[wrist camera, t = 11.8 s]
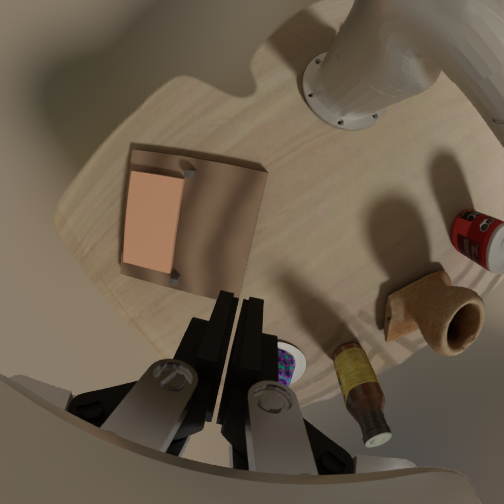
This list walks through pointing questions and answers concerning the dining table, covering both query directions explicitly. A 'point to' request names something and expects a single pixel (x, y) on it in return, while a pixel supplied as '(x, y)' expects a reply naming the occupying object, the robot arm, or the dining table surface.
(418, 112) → the dining table surface
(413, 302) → the clay platform pipe
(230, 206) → the board
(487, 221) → the canned food
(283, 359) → the patterned brimmed hat
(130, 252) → the tile
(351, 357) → the sauce bottle
